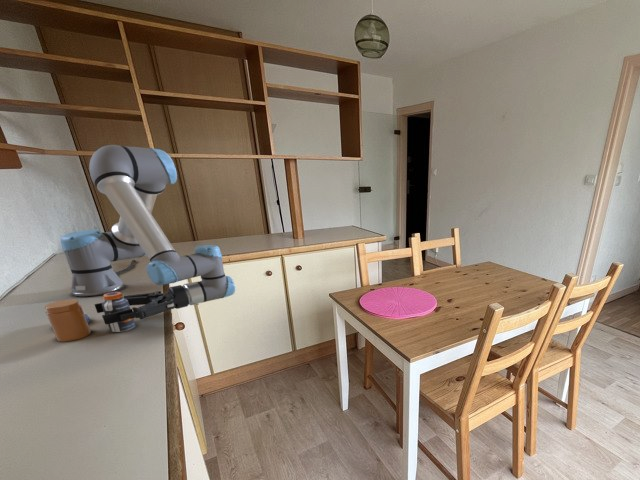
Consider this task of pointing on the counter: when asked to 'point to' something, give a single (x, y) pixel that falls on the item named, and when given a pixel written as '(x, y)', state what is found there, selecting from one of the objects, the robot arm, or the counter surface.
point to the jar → (67, 320)
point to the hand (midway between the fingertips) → (99, 314)
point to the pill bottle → (116, 304)
